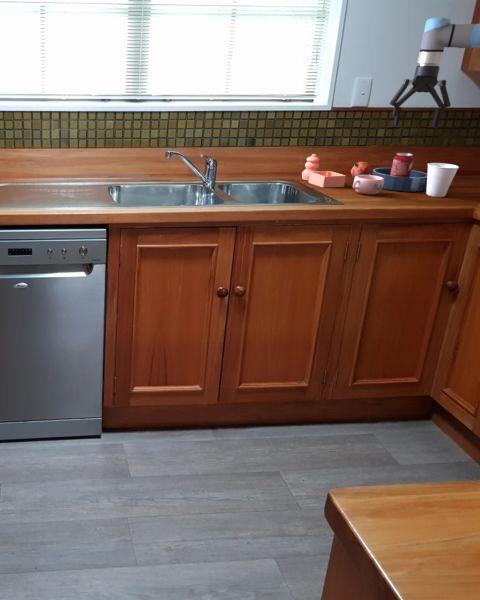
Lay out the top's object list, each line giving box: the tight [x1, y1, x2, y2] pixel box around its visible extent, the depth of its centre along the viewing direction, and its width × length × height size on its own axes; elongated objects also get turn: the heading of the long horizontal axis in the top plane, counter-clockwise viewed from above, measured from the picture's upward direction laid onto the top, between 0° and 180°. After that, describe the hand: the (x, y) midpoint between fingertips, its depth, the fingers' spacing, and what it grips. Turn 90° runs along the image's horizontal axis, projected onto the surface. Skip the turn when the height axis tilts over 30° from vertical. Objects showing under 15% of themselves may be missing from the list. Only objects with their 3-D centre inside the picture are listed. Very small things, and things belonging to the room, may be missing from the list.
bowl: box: [371, 167, 428, 193], centre depth 233 cm, size 19×19×6 cm
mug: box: [352, 174, 384, 196], centre depth 221 cm, size 12×10×6 cm
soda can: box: [390, 152, 414, 177], centre depth 232 cm, size 7×7×12 cm
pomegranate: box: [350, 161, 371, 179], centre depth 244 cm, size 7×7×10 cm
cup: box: [425, 162, 460, 198], centre depth 220 cm, size 10×10×11 cm
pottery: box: [301, 153, 347, 189], centre depth 237 cm, size 18×10×10 cm, turn 16°
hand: (414, 126), depth 226 cm, fingers open, 13 cm apart
